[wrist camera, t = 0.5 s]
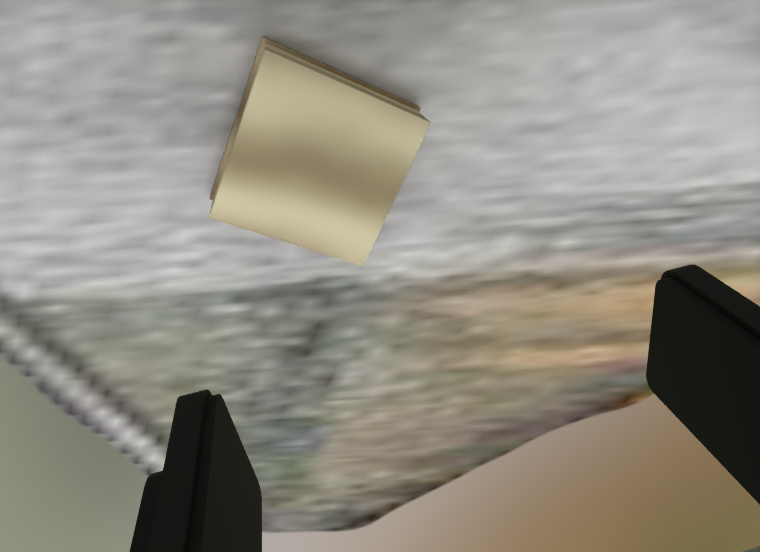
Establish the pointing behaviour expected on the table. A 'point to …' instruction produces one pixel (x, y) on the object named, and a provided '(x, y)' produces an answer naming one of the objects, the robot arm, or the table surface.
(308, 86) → the base block
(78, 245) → the table surface
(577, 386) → the table surface
